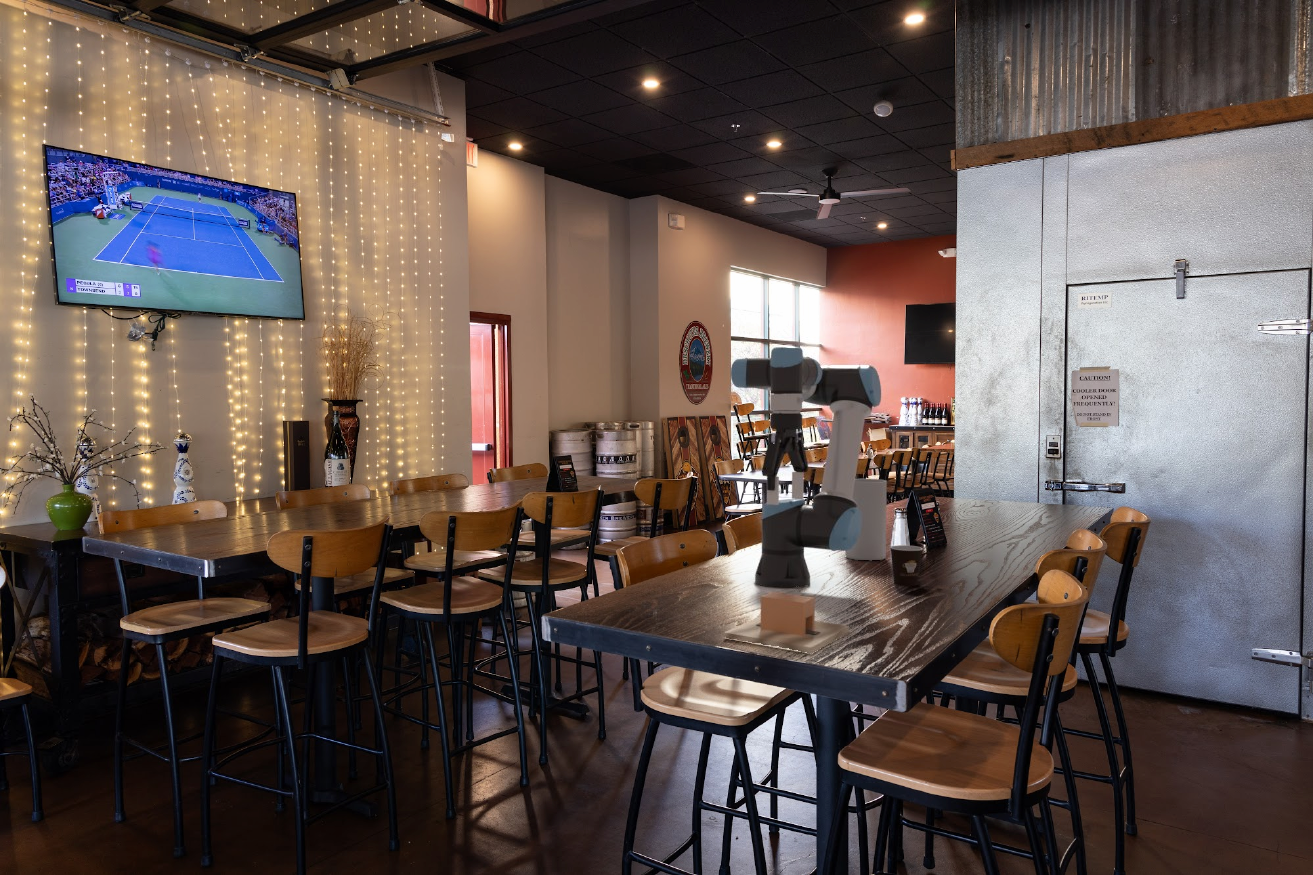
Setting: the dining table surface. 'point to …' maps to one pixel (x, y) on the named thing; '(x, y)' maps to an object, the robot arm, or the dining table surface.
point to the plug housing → (787, 613)
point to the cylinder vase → (870, 520)
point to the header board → (789, 635)
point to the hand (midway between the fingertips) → (785, 501)
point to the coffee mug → (907, 564)
